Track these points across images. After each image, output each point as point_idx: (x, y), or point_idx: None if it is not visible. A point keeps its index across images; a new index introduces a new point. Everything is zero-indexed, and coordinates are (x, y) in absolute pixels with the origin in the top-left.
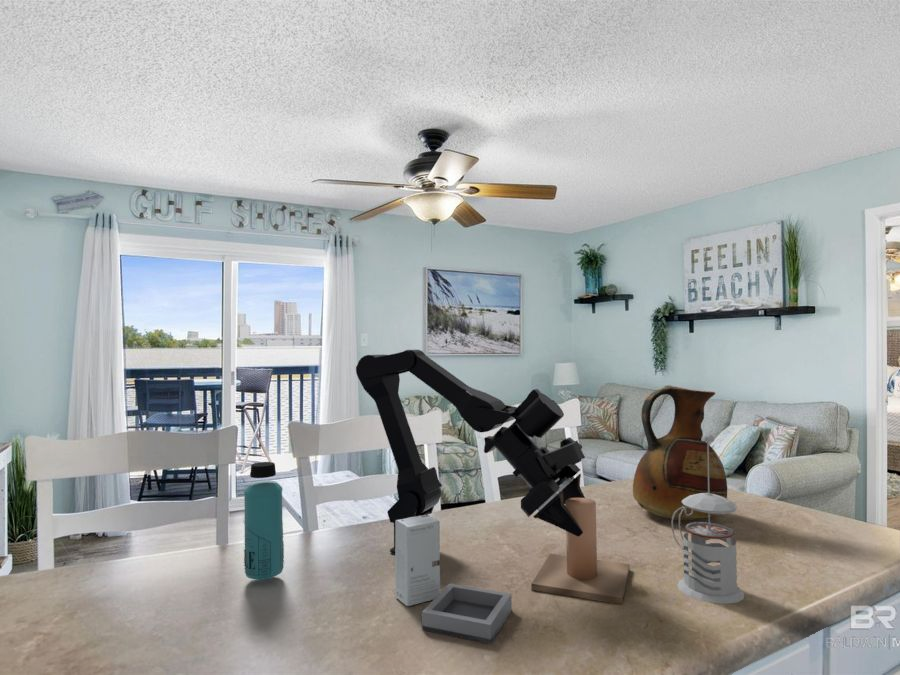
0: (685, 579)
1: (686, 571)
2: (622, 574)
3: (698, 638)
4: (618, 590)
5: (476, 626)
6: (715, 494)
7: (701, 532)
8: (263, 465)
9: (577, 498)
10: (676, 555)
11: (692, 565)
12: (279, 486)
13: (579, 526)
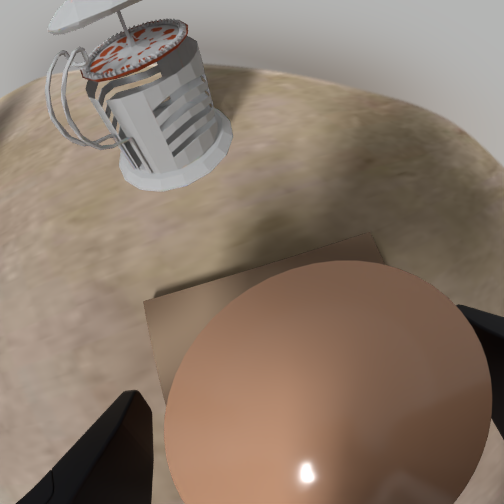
0: (189, 156)
1: (151, 164)
2: (226, 289)
3: (374, 112)
4: (338, 253)
5: None
6: None
7: (150, 49)
8: None
9: None
10: (34, 247)
11: (200, 108)
12: None
13: (472, 318)
